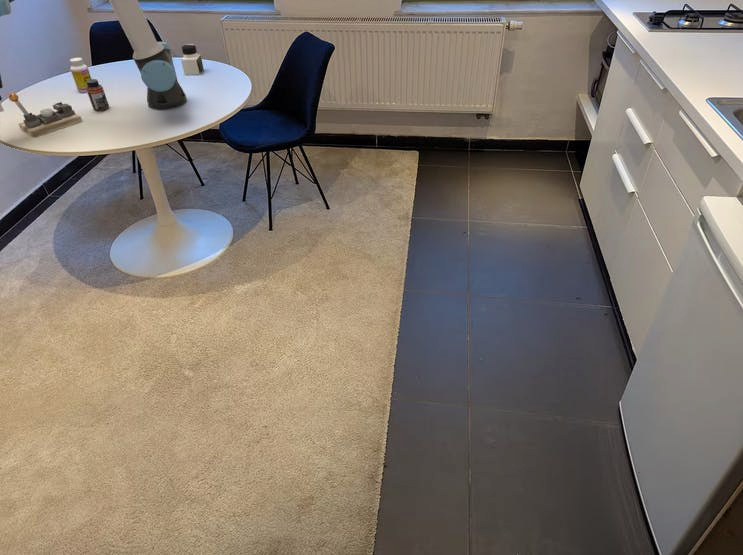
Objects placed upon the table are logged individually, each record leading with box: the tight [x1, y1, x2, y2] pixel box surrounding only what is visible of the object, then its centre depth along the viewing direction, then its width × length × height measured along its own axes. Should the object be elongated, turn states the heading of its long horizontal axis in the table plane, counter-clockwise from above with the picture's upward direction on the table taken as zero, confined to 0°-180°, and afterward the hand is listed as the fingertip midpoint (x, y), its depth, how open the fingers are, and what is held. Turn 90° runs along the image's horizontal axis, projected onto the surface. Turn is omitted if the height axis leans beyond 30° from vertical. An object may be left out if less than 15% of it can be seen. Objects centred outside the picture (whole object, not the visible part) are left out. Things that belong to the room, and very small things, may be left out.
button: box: [39, 108, 54, 118], centre depth 202 cm, size 4×4×2 cm
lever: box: [8, 92, 30, 117], centre depth 194 cm, size 3×3×11 cm
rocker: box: [52, 103, 73, 111], centre depth 205 cm, size 4×5×2 cm
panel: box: [18, 101, 83, 138], centre depth 202 cm, size 12×18×6 cm, turn 140°
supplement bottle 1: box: [69, 57, 92, 93], centre depth 230 cm, size 7×7×13 cm
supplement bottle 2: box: [86, 78, 110, 112], centre depth 212 cm, size 6×6×11 cm
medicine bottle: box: [180, 43, 205, 76], centre depth 244 cm, size 7×7×12 cm
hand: (0, 110), depth 190 cm, fingers closed
